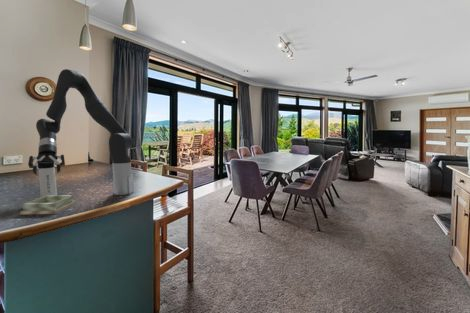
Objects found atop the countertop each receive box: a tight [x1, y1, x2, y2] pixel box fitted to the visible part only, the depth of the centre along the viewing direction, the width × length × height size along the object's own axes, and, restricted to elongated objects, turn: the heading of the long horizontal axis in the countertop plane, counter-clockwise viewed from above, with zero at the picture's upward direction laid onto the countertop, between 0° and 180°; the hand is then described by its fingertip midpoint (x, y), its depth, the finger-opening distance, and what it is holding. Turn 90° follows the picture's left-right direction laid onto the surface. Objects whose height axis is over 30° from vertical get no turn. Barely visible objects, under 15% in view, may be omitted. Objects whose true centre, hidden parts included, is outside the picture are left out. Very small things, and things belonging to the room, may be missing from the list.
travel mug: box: [36, 160, 58, 197], centre depth 112 cm, size 6×7×20 cm
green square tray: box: [19, 194, 77, 216], centre depth 102 cm, size 14×14×4 cm
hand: (47, 172), depth 113 cm, fingers open, 8 cm apart
